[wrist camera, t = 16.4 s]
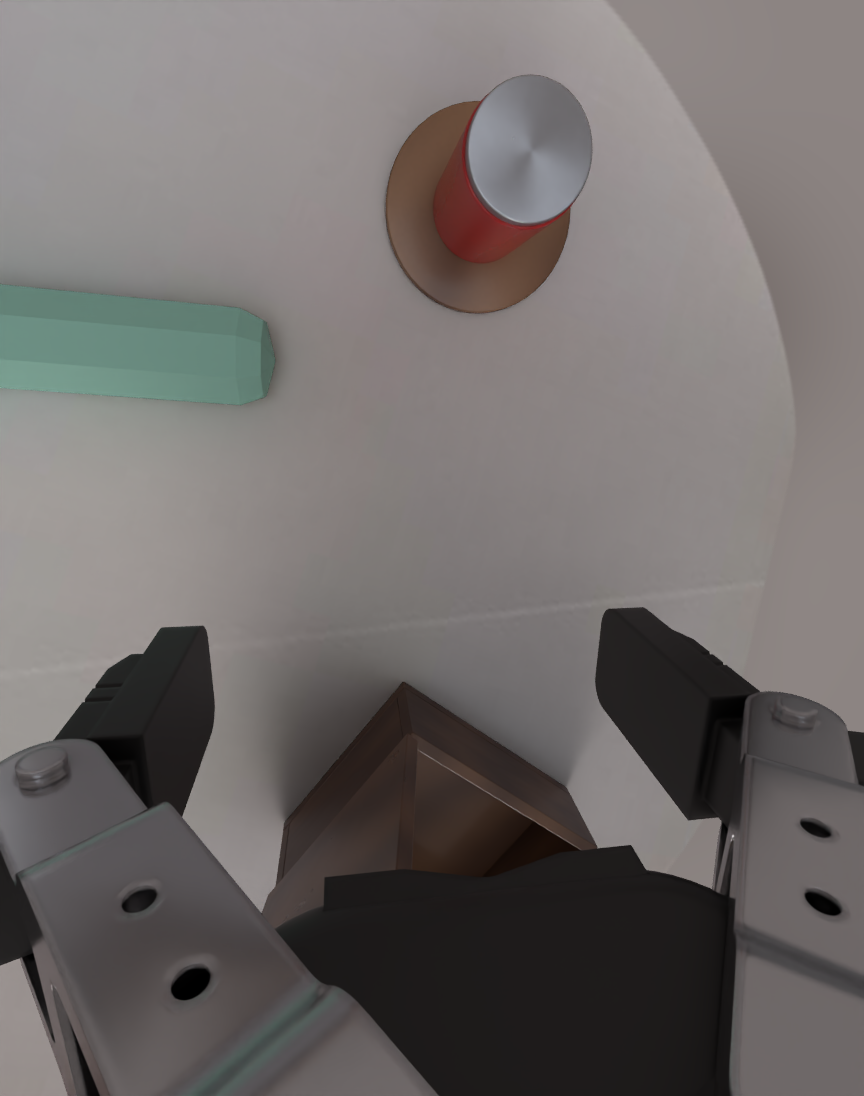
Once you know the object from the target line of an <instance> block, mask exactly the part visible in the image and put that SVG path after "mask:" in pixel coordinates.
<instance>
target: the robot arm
mask: <svg viewBox="0 0 864 1096" xmlns="http://www.w3.org/2000/svg"><path fill="white" fill-rule="evenodd" d="M595 683H596V691H597V696H598V699H599V702H600V704H601V706H602V707H603V709H604V710H605V711H606V713H607V714H608V715H609V717H610V718H611V719H612V721H613V722H614V723H615V725H616V726H617V727H618V728H619V730H620V731H621V732H622V734H623V735H624V736H625V738H626V739H627V740H628V742H629V743H630V744H631V746H632V747H633V748H634V750H635V751H636V752H637V754H638V755H639V756H640V757H641V759H642V760H643V761H644V763H645V764H646V765H647V767H648V768H649V769H650V771H651V772H652V773H653V775H654V776H655V777H656V779H657V780H658V781H659V782H660V784H661V785H662V786H663V788H664V789H665V790H666V792H667V793H668V794H669V796H670V797H671V798H672V800H673V801H674V802H675V804H676V805H677V806H678V807H679V809H680V810H681V811H682V813H683V814H684V815H685V817H686V818H687V819H688V820H696V819H706V818H716V817H719V818H720V820H721V826H720V831H719V836H718V842H717V851H716V859H715V868H714V877H713V886H712V889H710V888H708V887H705V886H703V885H700V884H698V883H695V882H693V881H690V880H687V879H684V878H680V877H677V876H674V875H670V874H665V873H660V872H656V871H649V870H646V869H645V868H644V866H643V864H642V863H641V861H640V859H639V858H638V856H637V854H636V853H635V851H634V849H633V848H632V846H631V845H627V846H617V847H608V848H598V849H589V850H579V851H569V852H560V853H557V854H554V855H552V856H549V857H546V858H543V859H540V860H538V861H535V862H532V863H529V864H527V865H524V866H521V867H518V868H515V869H513V870H510V871H507V872H504V873H502V874H499V875H496V876H492V877H474V876H465V875H456V874H446V873H437V872H428V871H419V870H410V869H398V870H389V871H379V872H370V873H360V874H351V875H341V876H332V877H325V878H324V905H322V906H319V907H317V908H314V909H311V910H309V911H307V912H305V913H302V914H300V915H298V916H296V917H294V918H292V919H290V920H288V921H287V922H285V923H283V924H282V925H280V926H278V927H277V928H275V929H274V928H273V927H272V926H271V924H270V923H269V922H268V921H267V920H266V918H265V917H264V916H263V915H262V913H261V912H260V911H259V910H258V909H257V907H256V906H255V905H254V904H253V903H252V901H251V900H250V899H249V898H248V897H247V895H246V894H245V893H244V892H243V890H242V889H241V888H240V887H239V886H238V884H237V883H236V882H235V881H234V880H233V878H232V877H231V876H230V875H229V874H228V872H227V871H226V870H225V869H224V867H223V866H222V865H221V864H220V863H219V861H218V860H217V859H216V858H215V857H214V855H213V854H212V853H211V852H210V851H209V849H208V848H207V847H206V846H205V844H204V843H203V842H202V841H201V840H200V838H199V837H198V836H197V835H196V834H195V832H194V831H193V830H192V829H191V828H190V826H189V825H188V824H187V823H186V821H185V820H184V819H183V818H182V815H183V813H184V810H185V807H186V804H187V801H188V798H189V796H190V793H191V790H192V787H193V784H194V781H195V778H196V776H197V773H198V770H199V767H200V764H201V761H202V759H203V756H204V753H205V750H206V747H207V744H208V742H209V739H210V736H211V733H212V729H213V724H214V711H215V704H214V691H213V682H212V672H211V663H210V653H209V644H208V636H207V632H206V629H205V627H204V626H186V627H163V628H161V629H160V630H159V632H158V633H157V635H156V636H155V637H154V639H153V640H152V642H151V643H150V645H149V646H148V648H147V649H146V651H145V652H144V654H131V655H129V656H128V657H126V658H124V659H123V660H121V661H120V662H118V663H117V664H115V665H113V666H112V667H110V668H109V669H108V670H107V671H106V672H105V674H104V675H103V676H102V678H101V679H100V680H99V681H98V683H97V684H96V688H94V689H92V691H91V692H90V693H89V695H88V696H87V697H86V698H85V702H82V704H81V705H80V706H79V708H78V709H77V710H76V712H75V713H74V714H73V715H72V717H71V718H70V719H69V721H68V722H67V723H66V725H65V726H64V727H63V729H62V730H61V731H60V732H59V734H58V735H57V736H56V738H55V739H54V740H53V741H49V742H45V743H41V744H38V745H35V746H32V747H29V748H27V749H24V750H22V751H19V752H17V753H15V754H13V755H11V756H10V757H8V758H6V759H5V760H3V761H1V762H0V965H3V964H5V963H8V962H11V961H13V960H16V959H19V958H20V961H21V965H22V968H23V970H24V973H25V976H26V979H27V981H28V984H29V987H30V990H31V992H32V995H33V998H34V1001H35V1003H36V1006H37V1009H38V1012H39V1014H40V1017H41V1020H42V1023H43V1025H44V1028H45V1031H46V1034H47V1036H48V1039H49V1042H50V1045H51V1047H52V1050H53V1053H54V1056H55V1058H56V1061H57V1064H58V1067H59V1069H60V1072H61V1075H62V1078H63V1081H64V1085H65V1088H66V1091H67V1094H68V1096H864V733H861V732H853V731H847V727H846V725H845V723H844V721H843V720H842V719H841V718H840V717H839V716H838V715H837V714H836V713H834V712H833V711H831V710H830V709H828V708H826V707H825V706H823V705H821V704H819V703H816V702H814V701H812V700H809V699H806V698H803V697H800V696H797V695H793V694H788V693H781V692H770V691H768V692H760V691H759V690H758V689H756V688H755V687H754V686H752V685H751V684H750V683H749V682H747V681H746V680H745V679H743V678H742V677H741V676H740V675H738V674H737V673H736V672H735V671H733V670H732V669H731V668H729V667H728V666H727V665H723V662H722V661H720V660H719V659H718V658H717V657H715V656H714V655H713V654H711V655H710V653H709V651H708V650H706V649H705V648H704V647H703V646H701V645H700V644H699V643H698V642H696V641H695V640H694V639H692V638H690V637H687V636H685V635H683V634H681V633H679V632H676V631H674V630H672V629H671V628H669V627H668V626H667V625H666V624H664V623H663V622H662V621H661V620H659V619H658V618H657V617H656V616H654V615H653V614H652V613H651V612H649V611H648V610H647V609H645V608H643V607H640V608H617V609H608V610H606V611H605V613H604V615H603V618H602V623H601V631H600V640H599V649H598V658H597V667H596V677H595Z"/></svg>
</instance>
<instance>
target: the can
mask: <svg viewBox="0 0 864 1096" xmlns="http://www.w3.org/2000/svg"><path fill="white" fill-rule="evenodd" d="M591 161H592V136H591V130H590V126H589V122H588V120H587V117H586V114H585V112H584V110H583V108H582V106H581V105H580V103H579V102H578V100H577V99H576V98H575V96H574V95H573V94H572V93H571V92H570V91H569V90H568V89H567V88H565V87H564V86H563V85H561V84H560V83H558V82H556V81H555V80H552V79H550V78H548V77H544V76H539V75H521V76H517V77H513V78H511V79H509V80H506V81H504V82H503V83H501V84H499V85H498V86H497V87H495V88H494V89H493V90H492V91H491V92H490V93H489V94H487V95H486V96H485V97H484V98H483V99H482V100H481V102H480V103H479V104H478V105H477V107H476V108H475V110H474V111H473V113H472V115H471V117H470V119H469V121H468V123H467V125H466V127H465V129H464V131H463V133H462V135H461V137H460V139H459V141H458V143H457V145H456V147H455V149H454V151H453V153H452V156H451V158H450V160H449V162H448V164H447V166H446V168H445V170H444V172H443V174H442V176H441V178H440V180H439V182H438V185H437V187H436V190H435V194H434V200H433V215H434V221H435V225H436V228H437V231H438V233H439V235H440V237H441V239H442V241H443V242H444V244H445V245H446V246H447V247H448V249H449V250H451V251H452V252H453V253H454V254H455V255H457V256H458V257H460V258H462V259H464V260H466V261H469V262H473V263H490V262H494V261H497V260H499V259H501V258H503V257H504V256H506V255H508V254H509V253H510V252H512V251H513V250H515V249H516V248H517V247H519V246H520V245H522V244H523V243H525V242H526V241H527V240H529V239H530V238H532V237H533V236H534V235H536V234H537V233H539V232H540V231H542V230H543V229H544V228H546V227H547V226H549V225H550V224H551V223H553V222H554V221H556V220H557V219H558V218H560V217H561V216H562V215H563V214H564V213H565V212H566V211H567V210H568V209H569V208H570V207H571V206H572V204H573V203H574V202H575V200H576V198H577V197H578V196H579V194H580V192H581V191H582V189H583V187H584V185H585V182H586V180H587V177H588V174H589V171H590V166H591Z"/></svg>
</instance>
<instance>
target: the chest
mask: <svg viewBox="0 0 864 1096" xmlns="http://www.w3.org/2000/svg"><path fill="white" fill-rule="evenodd" d="M406 734H409V735H411V736H412V737H413V738H415V739H416V740H417V741H418V750H417V772H416V793H415V815H414V836H413V857H412V870H419V871H428V872H437V873H446V874H456V875H465V876H474V877H492V876H496V875H499V874H502V873H504V872H507V871H510V870H513V869H515V868H518V867H521V866H524V865H527V864H529V863H532V862H535V861H538V860H540V859H543V858H546V857H549V856H552V855H554V854H557V853H560V852H569V851H579V850H589V849H597V845H596V843H595V841H594V839H593V837H592V836H591V834H590V832H589V830H588V828H587V826H586V824H585V822H584V820H583V818H582V816H581V814H580V812H579V811H578V809H577V807H576V805H575V803H574V801H573V799H572V797H571V795H570V793H569V792H568V790H567V788H566V787H565V786H563V785H562V784H560V783H558V782H557V781H555V780H554V779H552V778H551V777H549V776H548V775H546V774H545V773H543V772H542V771H540V770H538V769H537V768H535V767H534V766H532V765H531V764H529V763H528V762H526V761H525V760H523V759H522V758H520V757H518V756H517V755H515V754H514V753H512V752H511V751H509V750H508V749H506V748H505V747H503V746H502V745H500V744H498V743H497V742H495V741H494V740H492V739H491V738H489V737H488V736H486V735H485V734H483V733H482V732H480V731H478V730H477V729H475V728H474V727H472V726H471V725H469V724H468V723H466V722H465V721H463V720H461V719H460V718H458V717H457V716H455V715H454V714H452V713H451V712H449V711H448V710H446V709H445V708H443V707H441V706H440V705H438V704H437V703H435V702H434V701H432V700H431V699H429V698H428V697H426V696H425V695H423V694H421V693H420V692H418V691H417V690H415V689H414V688H412V687H411V686H409V685H408V684H406V683H405V682H403V683H402V684H401V685H400V686H399V688H398V689H397V690H396V691H395V692H394V693H393V695H392V696H391V697H390V698H389V699H388V701H387V702H386V703H385V704H384V705H383V707H382V708H381V709H380V710H379V711H378V712H377V714H376V715H375V716H374V717H373V718H372V720H371V721H370V722H369V723H368V724H367V725H366V727H365V728H364V729H363V730H362V731H361V733H360V734H359V735H358V736H357V737H356V739H355V740H354V741H353V742H352V743H351V744H350V746H349V747H348V748H347V749H346V750H345V752H344V753H343V754H342V755H341V756H340V757H339V759H338V760H337V761H336V762H335V763H334V765H333V766H332V767H331V768H330V769H329V771H328V772H327V773H326V774H325V775H324V776H323V778H322V779H321V780H320V781H319V782H318V784H317V785H316V786H315V787H314V788H313V789H312V791H311V792H310V793H309V794H308V795H307V797H306V798H305V799H304V800H303V801H302V803H301V804H300V805H299V806H298V807H297V808H296V810H295V811H294V812H293V813H292V814H291V816H290V817H289V818H288V819H287V820H286V822H285V823H284V828H283V837H282V844H281V851H280V858H279V865H278V872H277V880H276V885H277V884H278V883H279V882H280V881H281V880H282V879H283V877H284V876H285V875H286V874H287V873H288V872H289V870H290V869H291V868H292V867H293V866H294V865H295V863H296V862H297V861H298V860H299V859H300V858H301V856H302V855H303V854H304V853H305V852H306V851H307V849H308V848H309V847H310V846H311V845H312V844H313V842H314V841H315V840H316V839H317V838H318V837H319V835H320V834H321V833H322V832H323V831H324V830H325V828H326V827H327V826H328V825H329V824H330V823H331V822H332V820H333V819H334V818H335V817H336V816H337V815H338V813H339V812H340V811H341V810H342V809H343V808H344V806H345V805H346V804H347V803H348V802H349V801H350V799H351V798H352V797H353V796H354V795H355V794H356V792H357V791H358V790H359V789H360V788H361V787H362V785H363V784H364V783H365V782H366V781H367V780H368V778H369V777H370V776H371V775H372V774H373V773H374V772H375V770H376V769H377V768H378V767H379V766H380V765H381V763H382V762H383V761H384V760H385V759H386V758H387V756H388V755H389V754H390V753H391V752H392V751H393V749H394V748H395V747H396V746H397V745H398V744H399V742H400V741H401V740H402V739H403V738H404V737H405V735H406Z"/></svg>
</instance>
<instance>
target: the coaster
mask: <svg viewBox="0 0 864 1096" xmlns="http://www.w3.org/2000/svg"><path fill="white" fill-rule="evenodd" d="M480 102H481V101H472V102H463V103H459V104H455V105H451V106H449V107H447V108H444V109H442V110H440V111H438V112H436V113H435V114H433V115H431V116H430V117H428V118H427V119H426V120H425V121H424V122H422V123H421V124H420V125H419V126H418V127H417V128H416V129H415V130H414V131H413V132H412V134H411V135H410V136H409V137H408V139H407V140H406V142H405V143H404V145H403V146H402V148H401V150H400V151H399V153H398V155H397V157H396V159H395V162H394V165H393V168H392V170H391V174H390V178H389V182H388V187H387V194H386V223H387V230H388V234H389V238H390V242H391V246H392V248H393V251H394V253H395V256H396V258H397V260H398V262H399V264H400V266H401V268H402V269H403V271H404V272H405V273H406V275H407V276H408V278H409V279H410V280H411V281H412V282H413V284H414V285H415V286H416V287H417V288H418V289H419V290H420V291H421V292H423V293H424V294H425V295H426V296H427V297H429V298H430V299H432V300H434V301H435V302H437V303H439V304H441V305H443V306H445V307H447V308H450V309H453V310H456V311H460V312H467V313H487V312H494V311H498V310H501V309H505V308H507V307H509V306H512V305H514V304H516V303H518V302H520V301H521V300H523V299H525V298H526V297H528V296H529V295H530V294H531V293H533V292H534V291H535V290H536V289H537V288H538V287H539V286H540V285H541V284H542V283H543V282H544V281H545V280H546V278H547V277H548V276H549V274H550V273H551V272H552V270H553V268H554V267H555V265H556V263H557V261H558V259H559V257H560V255H561V252H562V250H563V248H564V244H565V241H566V238H567V233H568V228H569V222H570V208H569V209H568V210H567V211H566V212H565V213H564V214H563V215H562V216H561V217H560V218H558V219H557V220H556V221H554V222H553V223H551V224H550V225H549V226H547V227H546V228H544V229H543V230H542V231H540V232H539V233H537V234H536V235H534V236H533V237H532V238H530V239H529V240H527V241H526V242H525V243H523V244H522V245H520V246H519V247H517V248H516V249H515V250H513V251H512V252H510V253H509V254H508V255H506V256H504V257H503V258H501V259H499V260H497V261H494V262H490V263H473V262H469V261H466V260H464V259H462V258H460V257H458V256H457V255H455V254H454V253H453V252H452V251H451V250H449V249H448V247H447V246H446V245H445V244H444V242H443V241H442V239H441V237H440V235H439V233H438V231H437V228H436V225H435V221H434V215H433V200H434V194H435V190H436V187H437V185H438V182H439V180H440V178H441V176H442V174H443V172H444V170H445V168H446V166H447V164H448V162H449V160H450V158H451V156H452V153H453V151H454V149H455V147H456V145H457V143H458V141H459V139H460V137H461V135H462V133H463V131H464V129H465V127H466V125H467V123H468V121H469V119H470V117H471V115H472V113H473V111H474V110H475V108H476V107H477V105H478V104H479V103H480Z"/></svg>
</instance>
